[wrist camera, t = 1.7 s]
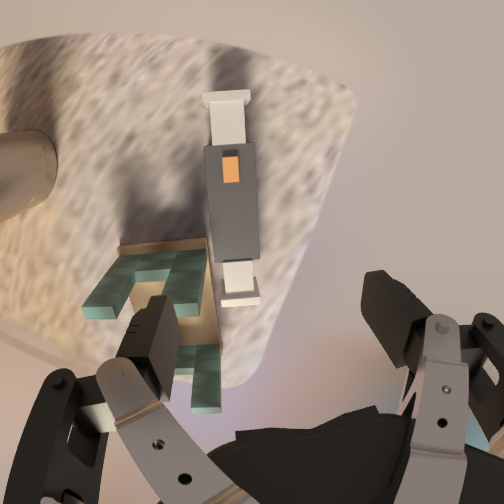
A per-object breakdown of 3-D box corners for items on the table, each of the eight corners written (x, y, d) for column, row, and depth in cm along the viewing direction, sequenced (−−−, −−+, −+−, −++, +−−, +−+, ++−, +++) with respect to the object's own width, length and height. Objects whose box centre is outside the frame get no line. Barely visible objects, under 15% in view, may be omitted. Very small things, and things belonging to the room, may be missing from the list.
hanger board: (151, 352, 35) (135, 415, 25) (119, 245, 28) (76, 297, 18) (222, 350, 35) (223, 417, 25) (206, 237, 29) (196, 292, 19)
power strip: (220, 276, 31) (219, 307, 25) (205, 103, 24) (199, 93, 18) (255, 273, 31) (262, 303, 26) (246, 100, 24) (252, 89, 18)
